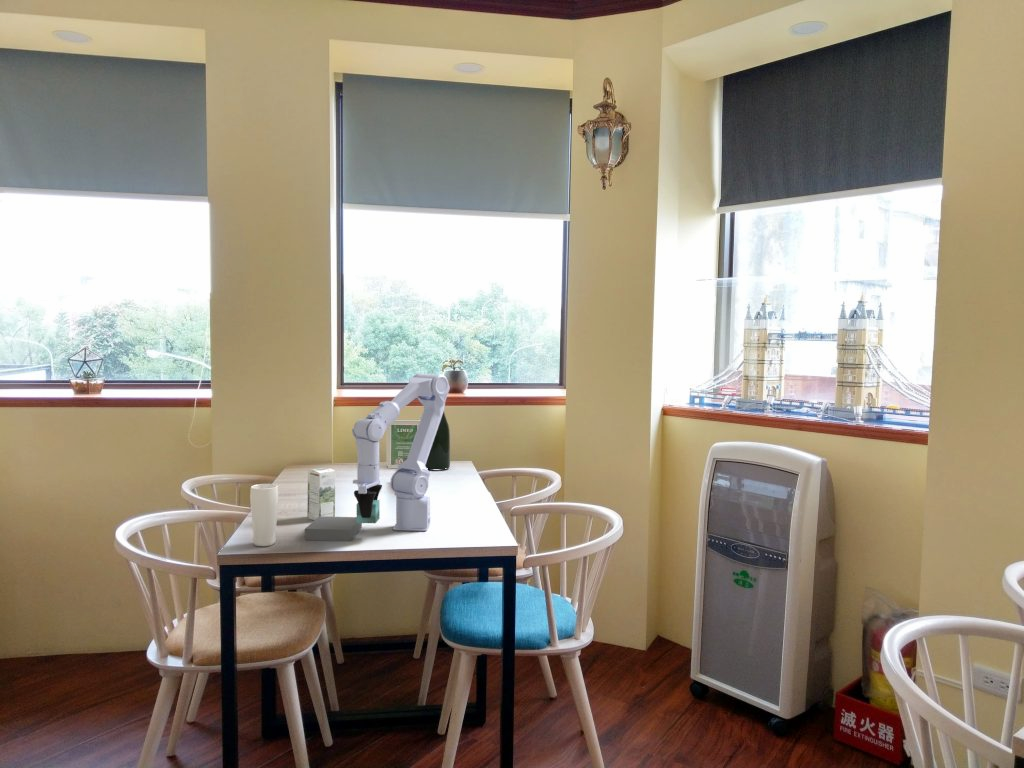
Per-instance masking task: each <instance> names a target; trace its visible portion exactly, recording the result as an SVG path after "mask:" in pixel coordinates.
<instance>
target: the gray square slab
mask: <svg viewBox="0 0 1024 768" xmlns="http://www.w3.org/2000/svg"><path fill="white" fill-rule="evenodd" d="M362 528H363V523H357V516H335V517H323V516H319V517H318V518H317V519H316V520H312V521H311V523H310V524H309V525H308V526H306V527H305V528H304V540H305V541H330V542H331V541H333V542H336V541H340V542H343V541H344V542H351V541H352V540H353V539H354V537H355V536H356V535H357V534H358V533H359V532H360V531H361V530H362Z"/></svg>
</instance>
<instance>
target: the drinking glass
mask: <svg viewBox="0 0 1024 768" xmlns="http://www.w3.org/2000/svg"><path fill="white" fill-rule="evenodd" d="M249 495H250V497H249V500H250V501H249V502H250V514H251V525H252V534H253V545H255V546H256V547H269V546H273V545H275V543H276V541H277V540H276V539H277V536H276V534H277V525H278V524H277V522H278V521H277V520H278V511H279V485H278V484H275V483H260V484H258V483H257V484H254V485H251V486H250V493H249Z"/></svg>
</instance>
